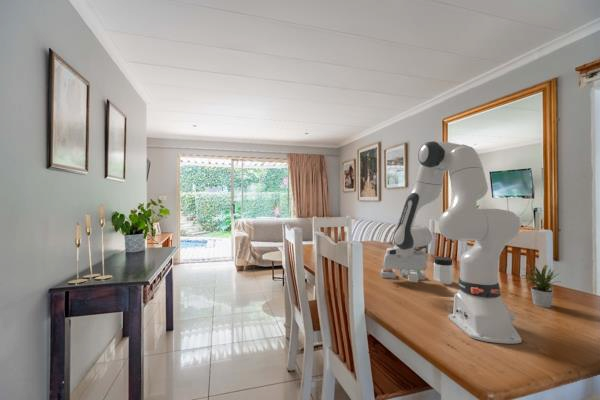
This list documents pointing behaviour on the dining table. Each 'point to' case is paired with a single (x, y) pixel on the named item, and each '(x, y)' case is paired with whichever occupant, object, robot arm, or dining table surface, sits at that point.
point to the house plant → (541, 287)
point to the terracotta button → (387, 270)
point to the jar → (443, 270)
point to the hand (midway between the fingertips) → (404, 278)
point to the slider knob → (413, 277)
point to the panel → (393, 274)
